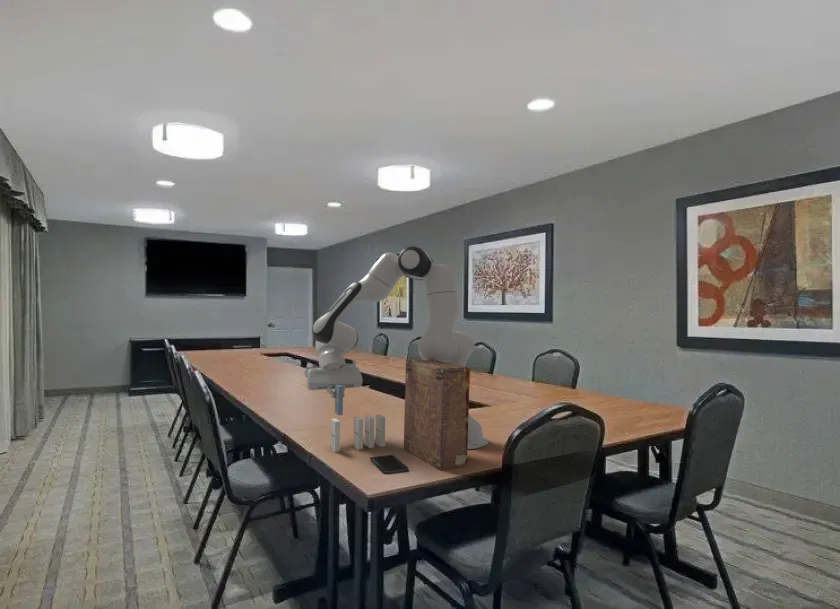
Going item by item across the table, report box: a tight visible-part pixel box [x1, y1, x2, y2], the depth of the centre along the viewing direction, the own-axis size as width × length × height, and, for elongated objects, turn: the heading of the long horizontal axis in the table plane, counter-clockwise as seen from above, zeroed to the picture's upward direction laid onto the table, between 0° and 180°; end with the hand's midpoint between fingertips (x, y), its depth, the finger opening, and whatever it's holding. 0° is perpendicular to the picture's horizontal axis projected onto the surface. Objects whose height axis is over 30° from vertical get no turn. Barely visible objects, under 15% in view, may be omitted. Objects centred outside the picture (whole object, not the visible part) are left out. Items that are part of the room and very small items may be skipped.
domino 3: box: [353, 416, 364, 450], centre depth 173 cm, size 2×5×10 cm, turn 25°
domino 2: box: [330, 417, 341, 453], centre depth 169 cm, size 2×5×10 cm, turn 25°
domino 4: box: [364, 415, 375, 449], centre depth 174 cm, size 2×5×10 cm, turn 25°
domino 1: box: [334, 385, 344, 416], centre depth 181 cm, size 2×5×10 cm, turn 24°
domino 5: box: [375, 414, 386, 448], centre depth 176 cm, size 2×5×10 cm, turn 26°
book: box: [403, 358, 471, 471], centre depth 162 cm, size 25×9×30 cm, turn 27°
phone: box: [369, 454, 409, 475], centre depth 153 cm, size 8×1×15 cm
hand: (338, 396), depth 182 cm, fingers closed on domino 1, 2 cm apart
